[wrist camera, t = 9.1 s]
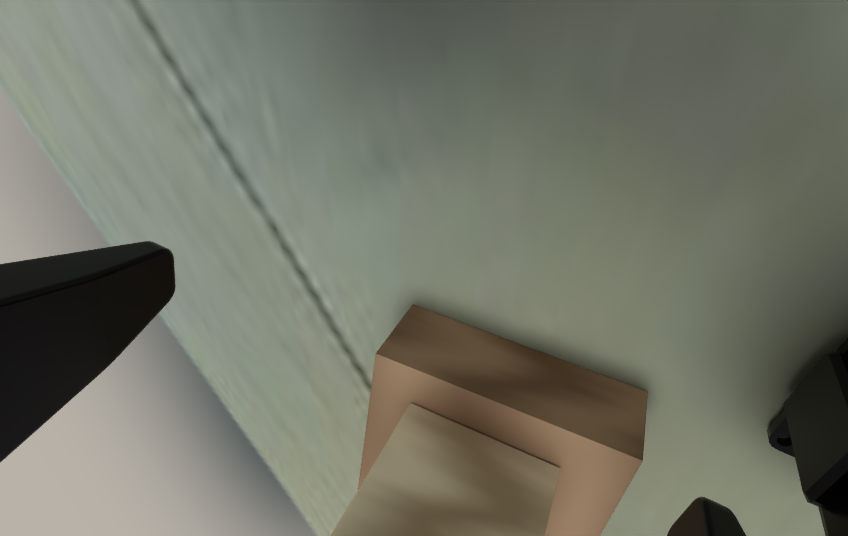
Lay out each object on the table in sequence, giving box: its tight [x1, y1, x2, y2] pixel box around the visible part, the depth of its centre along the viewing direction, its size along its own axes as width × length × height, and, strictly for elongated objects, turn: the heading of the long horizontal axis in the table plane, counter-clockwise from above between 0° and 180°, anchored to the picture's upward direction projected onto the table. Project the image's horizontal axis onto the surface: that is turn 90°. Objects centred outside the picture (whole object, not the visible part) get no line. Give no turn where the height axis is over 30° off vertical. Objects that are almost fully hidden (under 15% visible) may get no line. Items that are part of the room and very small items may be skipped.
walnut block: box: [358, 305, 648, 536], centre depth 24 cm, size 10×10×4 cm
